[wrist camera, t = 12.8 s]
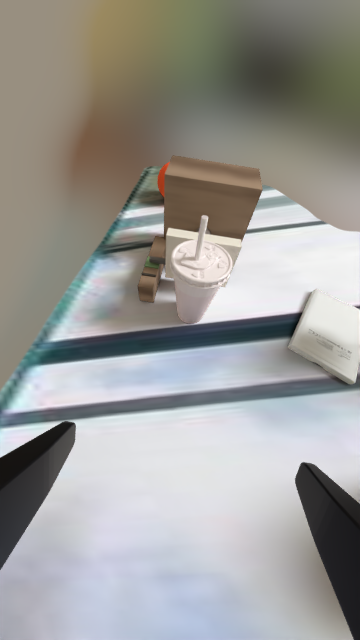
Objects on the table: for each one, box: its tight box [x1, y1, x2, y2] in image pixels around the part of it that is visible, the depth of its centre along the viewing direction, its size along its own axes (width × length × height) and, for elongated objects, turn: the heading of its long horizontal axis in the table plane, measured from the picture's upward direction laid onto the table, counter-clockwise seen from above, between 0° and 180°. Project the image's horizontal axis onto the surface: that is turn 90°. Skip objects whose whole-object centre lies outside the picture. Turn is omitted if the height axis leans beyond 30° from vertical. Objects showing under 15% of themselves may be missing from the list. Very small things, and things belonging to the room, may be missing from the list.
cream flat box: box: [149, 228, 241, 287], centre depth 26 cm, size 2×11×7 cm, turn 82°
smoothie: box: [170, 215, 232, 324], centre depth 22 cm, size 6×6×14 cm
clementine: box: [158, 162, 170, 197], centre depth 40 cm, size 8×7×7 cm
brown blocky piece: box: [138, 156, 263, 302], centre depth 27 cm, size 16×14×12 cm
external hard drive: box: [288, 289, 360, 385], centre depth 27 cm, size 2×8×12 cm
